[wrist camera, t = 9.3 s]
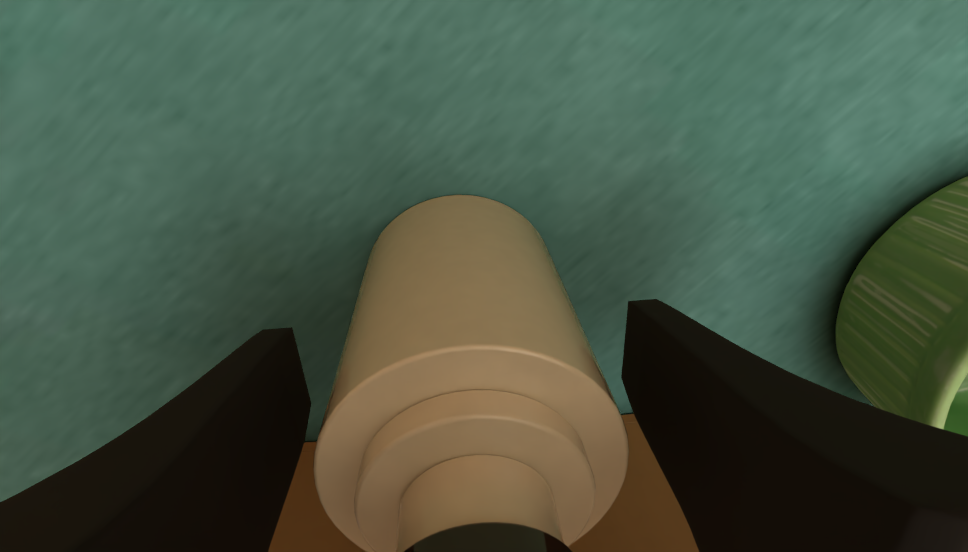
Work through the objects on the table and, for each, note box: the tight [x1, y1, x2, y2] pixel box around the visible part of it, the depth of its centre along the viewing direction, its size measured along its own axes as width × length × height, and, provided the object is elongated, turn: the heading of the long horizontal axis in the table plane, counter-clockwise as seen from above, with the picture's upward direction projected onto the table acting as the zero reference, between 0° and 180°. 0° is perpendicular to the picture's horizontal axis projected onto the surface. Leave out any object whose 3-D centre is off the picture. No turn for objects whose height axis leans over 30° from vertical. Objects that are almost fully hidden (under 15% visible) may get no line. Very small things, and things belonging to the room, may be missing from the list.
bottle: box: [313, 195, 629, 552], centre depth 10 cm, size 5×5×9 cm
